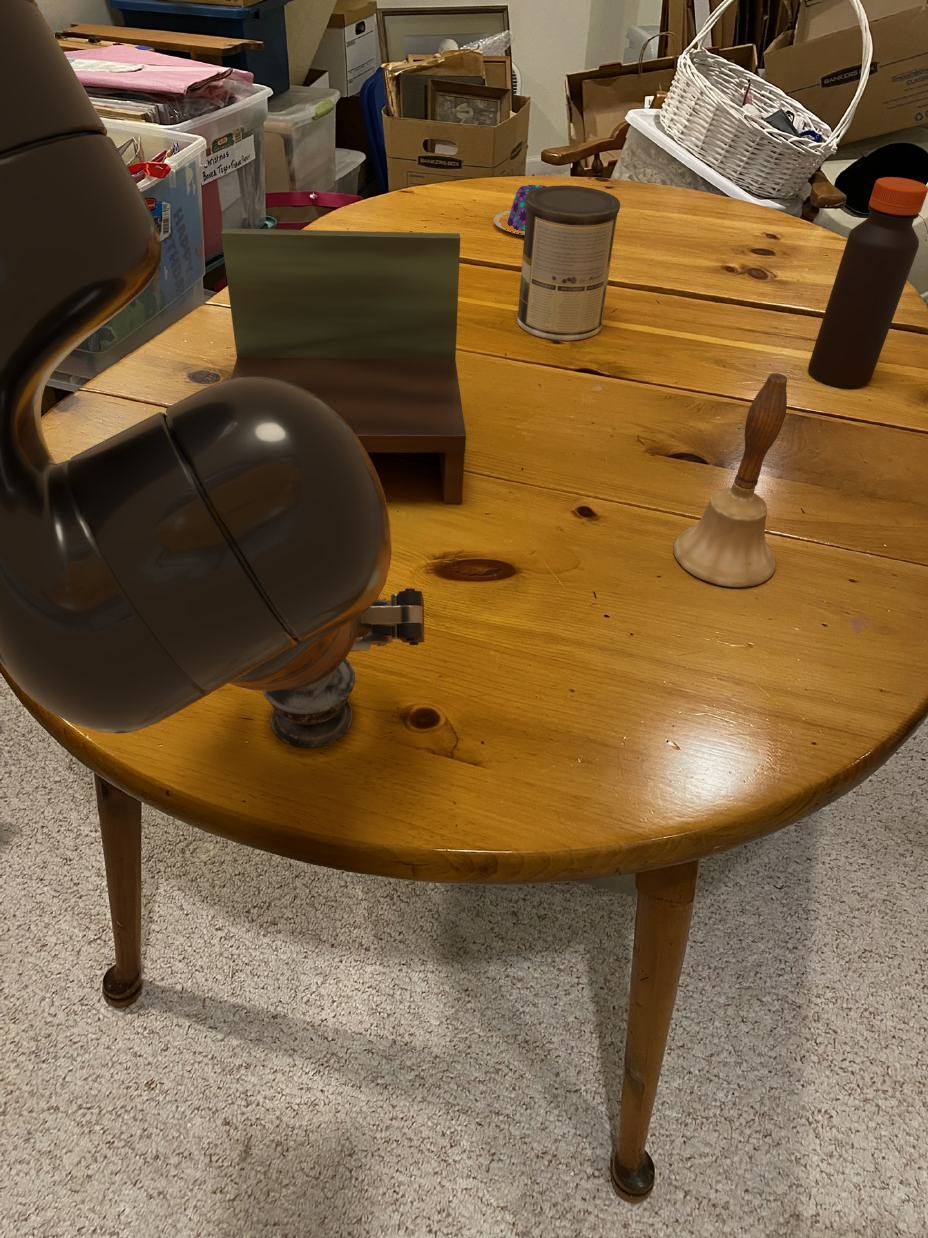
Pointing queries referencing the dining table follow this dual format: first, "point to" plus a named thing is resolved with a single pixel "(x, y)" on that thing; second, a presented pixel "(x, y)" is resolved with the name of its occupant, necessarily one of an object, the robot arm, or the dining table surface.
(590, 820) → the dining table surface
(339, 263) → the shelf
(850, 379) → the bottle
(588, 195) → the coffee can
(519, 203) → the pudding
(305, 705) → the grey turned spindle
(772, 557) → the hand bell
